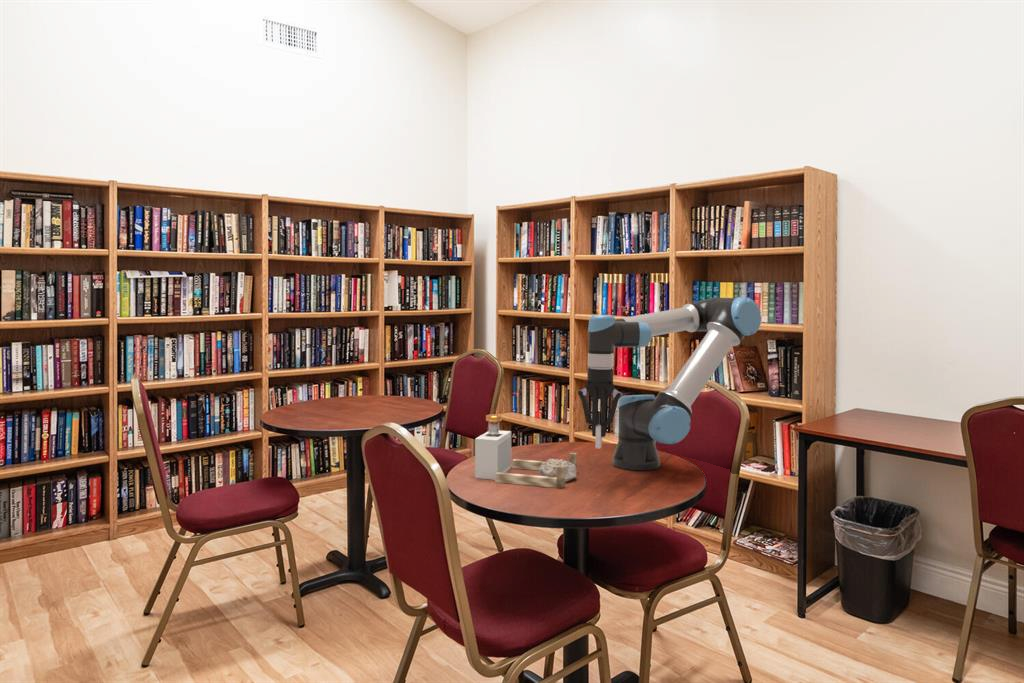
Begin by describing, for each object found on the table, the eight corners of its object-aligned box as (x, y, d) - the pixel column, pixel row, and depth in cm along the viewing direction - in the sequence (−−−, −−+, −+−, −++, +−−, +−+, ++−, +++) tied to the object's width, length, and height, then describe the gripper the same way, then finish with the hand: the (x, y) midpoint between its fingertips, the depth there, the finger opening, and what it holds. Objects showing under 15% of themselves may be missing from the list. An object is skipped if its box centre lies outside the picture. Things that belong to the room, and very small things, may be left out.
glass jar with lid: (503, 441, 206) (503, 414, 206) (498, 445, 202) (498, 417, 201) (488, 440, 208) (488, 413, 207) (483, 443, 203) (483, 416, 203)
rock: (558, 473, 206) (558, 454, 206) (580, 481, 197) (580, 461, 197) (529, 478, 200) (529, 459, 200) (550, 486, 191) (551, 466, 191)
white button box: (511, 468, 211) (511, 431, 210) (497, 479, 198) (497, 440, 197) (490, 466, 213) (490, 429, 212) (475, 477, 200) (475, 438, 199)
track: (576, 471, 207) (576, 452, 207) (563, 488, 189) (563, 467, 189) (514, 466, 213) (514, 448, 213) (495, 482, 195) (495, 462, 195)
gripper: (624, 367, 195) (622, 446, 196) (581, 365, 199) (579, 443, 200) (621, 370, 188) (618, 452, 189) (576, 368, 192) (574, 448, 193)
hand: (598, 447), depth 195 cm, fingers closed
